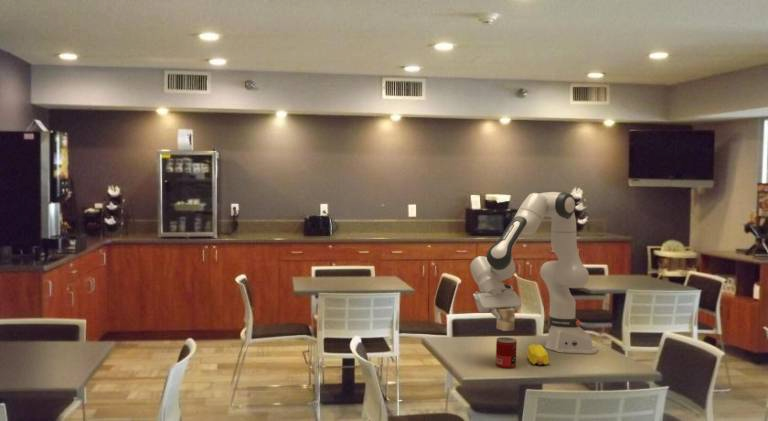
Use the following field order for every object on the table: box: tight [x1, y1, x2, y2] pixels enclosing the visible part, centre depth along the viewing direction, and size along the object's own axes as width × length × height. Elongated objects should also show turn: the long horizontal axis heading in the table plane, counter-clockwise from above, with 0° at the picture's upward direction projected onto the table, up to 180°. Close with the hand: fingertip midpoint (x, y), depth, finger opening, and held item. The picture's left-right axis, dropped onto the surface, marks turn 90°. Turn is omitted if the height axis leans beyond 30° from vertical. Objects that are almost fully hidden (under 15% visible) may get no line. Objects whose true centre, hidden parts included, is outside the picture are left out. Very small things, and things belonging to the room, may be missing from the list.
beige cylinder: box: [495, 308, 516, 332], centre depth 302 cm, size 5×5×8 cm
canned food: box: [495, 336, 518, 369], centre depth 302 cm, size 8×8×11 cm
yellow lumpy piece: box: [526, 343, 550, 366], centre depth 312 cm, size 18×7×8 cm
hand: (506, 318), depth 301 cm, fingers closed on beige cylinder, 5 cm apart
